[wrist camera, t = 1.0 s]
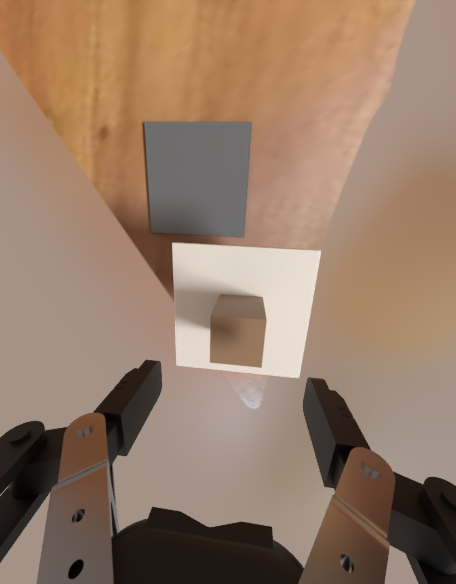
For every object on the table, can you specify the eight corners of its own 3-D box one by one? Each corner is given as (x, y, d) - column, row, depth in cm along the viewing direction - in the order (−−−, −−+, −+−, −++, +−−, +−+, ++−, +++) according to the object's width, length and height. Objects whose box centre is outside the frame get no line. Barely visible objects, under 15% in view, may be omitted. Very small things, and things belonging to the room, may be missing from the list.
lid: (175, 242, 20) (145, 248, 14) (318, 249, 19) (346, 259, 13) (178, 360, 24) (157, 401, 18) (297, 373, 23) (312, 420, 17)
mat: (146, 123, 30) (144, 121, 30) (251, 124, 29) (251, 122, 28) (152, 232, 35) (151, 232, 34) (244, 237, 33) (243, 237, 33)
